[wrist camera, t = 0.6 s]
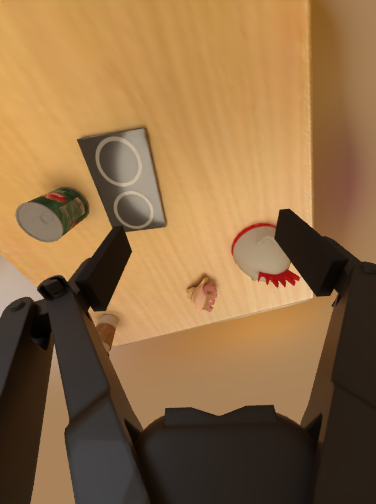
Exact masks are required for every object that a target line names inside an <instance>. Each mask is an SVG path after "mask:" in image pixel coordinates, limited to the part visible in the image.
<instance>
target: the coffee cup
mask: <svg viewBox="0 0 376 504" xmlns="http://www.w3.org/2000/svg"><path fill="white" fill-rule="evenodd" d="M117 323H118V319H117V318H116V317H115V316H113V315H109V314H107V315H103V316H102V317H101V319H100V321H99V322H98V324H97V326H96V329H97V332H98V334H99V336H100V338H101V341H102V343H103V345H104V347H105V350H106V352H107V354H108V356H109V351H110V350H111V346H112V342H113V338H114V334H115V330H116V326H117Z"/></svg>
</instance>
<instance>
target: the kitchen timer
mask: <svg viewBox="0 0 376 504" xmlns="http://www.w3.org/2000/svg"><path fill="white" fill-rule="evenodd" d="M275 231H276V227H275V226H273V225H270V224H256V225H252V226H250V227H248V228H246V229H244V230H243V231H242V232H240V233H239V234H238V235H237V237H236V238H235V240H234V242H233V245H232V255H233V258H234V261H235V263H236V264H237V265H238V266H239V268H240V269H241V270H242V271H243V272H244V273H246V274H247V275H248V276H250V277H251V278H252V280H254V281H256V280H258V282H259V281H263V282H266V284H267V285H268V283H269V282H273V284H274V285H275V286H276V287H277V288H278V285H279V283H278V281H280V282H281V284H282V285H283V286H284V287H285V286H286V281H285V280H287V281H288V282H290V283H291V284H292V285H293V286H294V285H295V280H297V281H299V279H300V277H299V276H297V275H296V274H294V273H292V272H291V271H289V270H288V269H289V266H290V264H291V261H290V260H289V258H288V257H287V256H286V254H285V253H284V252H283V250H282V249H281V248H280V246H279V245H278V243H277V242H276V241H275V239H274V236H275ZM294 279H295V280H294Z"/></svg>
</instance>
